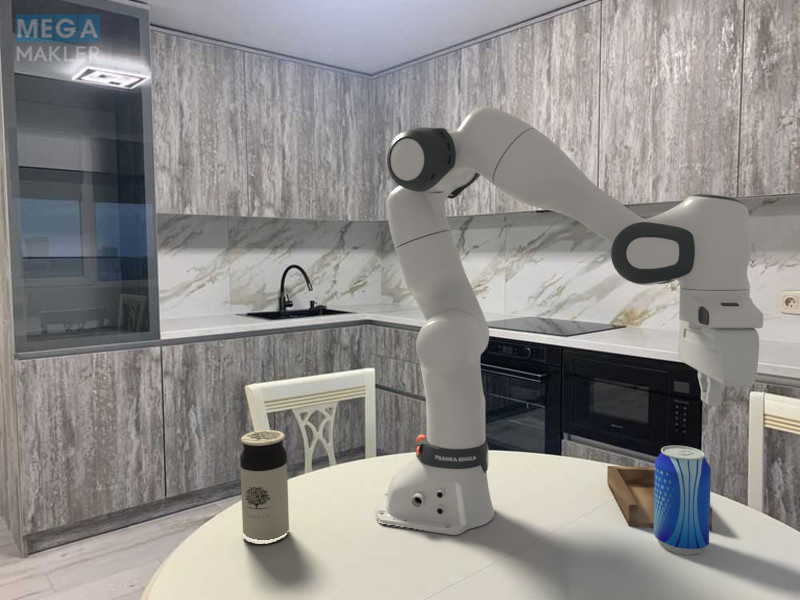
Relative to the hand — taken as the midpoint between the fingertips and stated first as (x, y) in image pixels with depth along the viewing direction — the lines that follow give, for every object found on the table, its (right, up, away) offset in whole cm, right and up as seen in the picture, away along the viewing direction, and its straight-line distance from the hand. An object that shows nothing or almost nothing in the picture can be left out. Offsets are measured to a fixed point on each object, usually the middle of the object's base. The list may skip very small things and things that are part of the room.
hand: (710, 404), depth 86 cm
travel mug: (-69, -27, +20) cm, 76 cm away
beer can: (+2, -26, +14) cm, 30 cm away
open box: (+4, -25, +29) cm, 38 cm away
